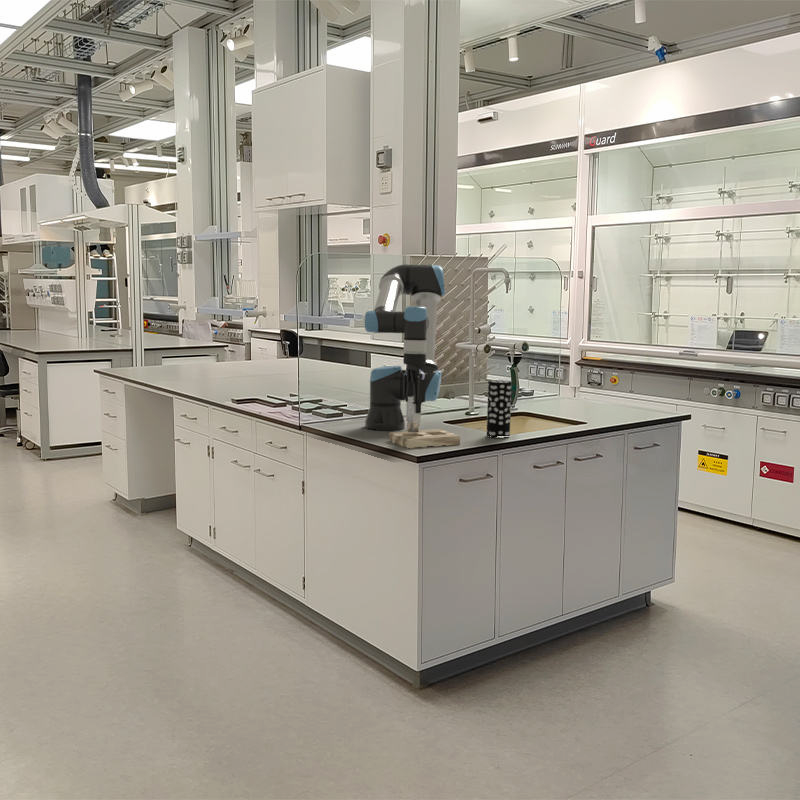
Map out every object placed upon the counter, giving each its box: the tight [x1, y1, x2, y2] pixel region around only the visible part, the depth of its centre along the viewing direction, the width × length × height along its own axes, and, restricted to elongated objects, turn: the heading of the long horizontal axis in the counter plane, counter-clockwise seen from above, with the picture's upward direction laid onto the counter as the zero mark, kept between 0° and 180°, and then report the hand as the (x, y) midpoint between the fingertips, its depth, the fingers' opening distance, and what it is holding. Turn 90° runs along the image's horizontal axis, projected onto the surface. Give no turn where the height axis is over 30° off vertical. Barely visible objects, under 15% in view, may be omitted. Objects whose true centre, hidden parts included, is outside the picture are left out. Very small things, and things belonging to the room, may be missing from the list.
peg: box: [406, 396, 420, 433], centre depth 268 cm, size 4×4×12 cm
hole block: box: [388, 428, 461, 449], centre depth 272 cm, size 14×20×3 cm
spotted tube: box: [486, 379, 513, 438], centre depth 285 cm, size 8×8×20 cm
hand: (413, 421), depth 269 cm, fingers closed on peg, 4 cm apart
